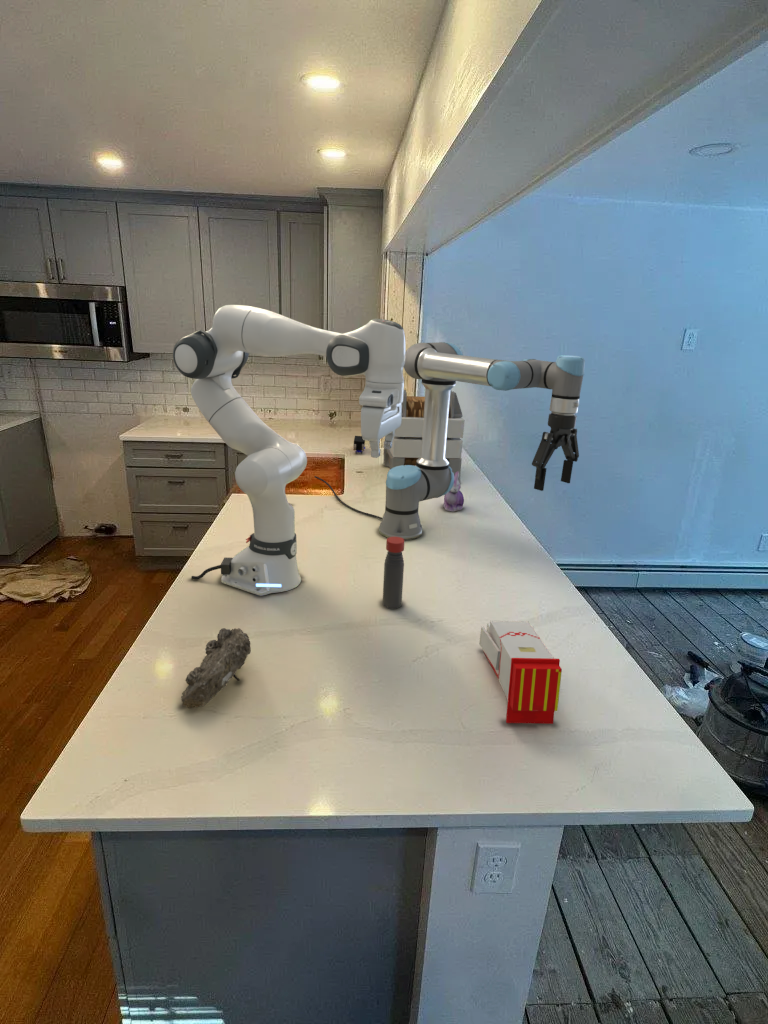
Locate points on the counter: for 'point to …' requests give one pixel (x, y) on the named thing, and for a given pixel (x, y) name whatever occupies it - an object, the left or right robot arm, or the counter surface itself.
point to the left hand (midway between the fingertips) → (381, 452)
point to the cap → (395, 544)
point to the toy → (523, 670)
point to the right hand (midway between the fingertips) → (552, 485)
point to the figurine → (454, 496)
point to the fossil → (216, 667)
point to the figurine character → (359, 444)
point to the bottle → (393, 580)
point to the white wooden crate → (411, 431)
